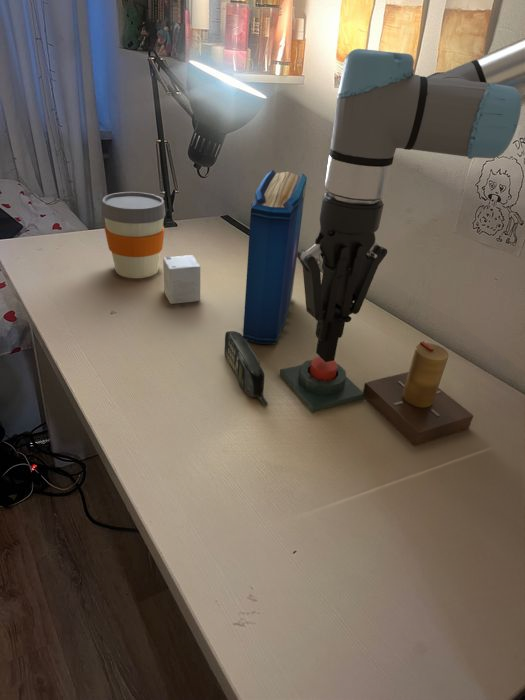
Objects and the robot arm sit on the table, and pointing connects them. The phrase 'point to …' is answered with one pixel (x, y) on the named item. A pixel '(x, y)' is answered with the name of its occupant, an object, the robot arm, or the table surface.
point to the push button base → (320, 388)
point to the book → (272, 254)
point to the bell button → (323, 369)
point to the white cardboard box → (181, 279)
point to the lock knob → (425, 374)
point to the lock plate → (416, 411)
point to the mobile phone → (245, 365)
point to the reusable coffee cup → (134, 232)
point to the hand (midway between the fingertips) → (324, 356)
